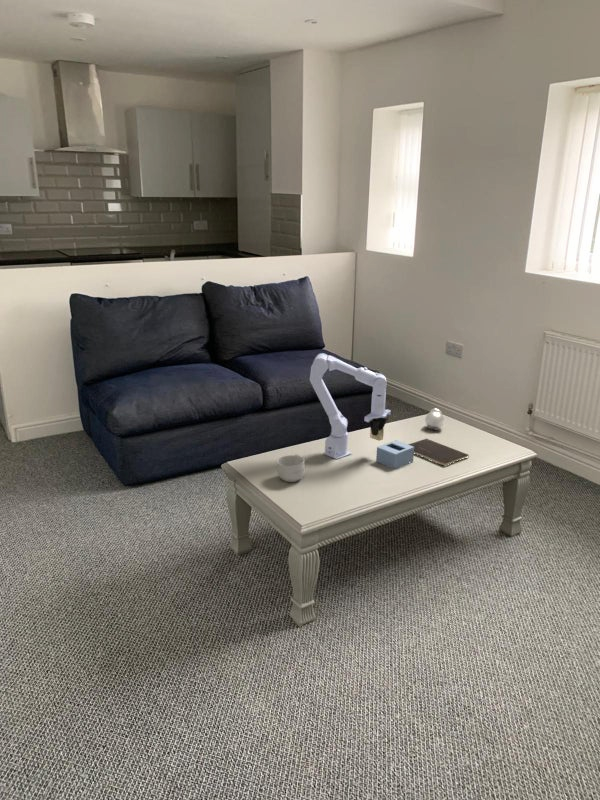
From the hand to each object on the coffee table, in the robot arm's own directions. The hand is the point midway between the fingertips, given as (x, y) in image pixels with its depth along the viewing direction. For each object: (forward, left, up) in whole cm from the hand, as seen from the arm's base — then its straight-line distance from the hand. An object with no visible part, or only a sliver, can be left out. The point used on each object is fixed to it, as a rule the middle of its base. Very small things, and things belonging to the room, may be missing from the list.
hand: (376, 434), depth 269 cm
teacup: (-41, +7, -10) cm, 43 cm away
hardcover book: (+22, -15, -11) cm, 29 cm away
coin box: (+2, -9, -10) cm, 14 cm away
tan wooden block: (0, 0, -2) cm, 2 cm away
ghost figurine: (+47, +4, -10) cm, 48 cm away
